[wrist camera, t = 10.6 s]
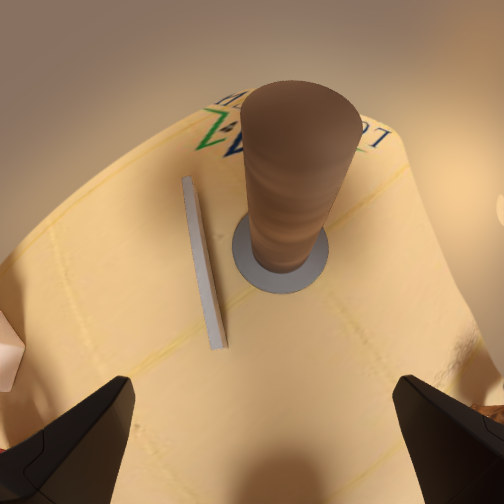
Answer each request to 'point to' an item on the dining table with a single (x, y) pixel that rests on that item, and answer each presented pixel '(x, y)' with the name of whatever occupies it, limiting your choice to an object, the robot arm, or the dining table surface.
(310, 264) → the resting pad
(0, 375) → the medicine bottle
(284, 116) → the pepper mill
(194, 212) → the low wall
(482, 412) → the lion figurine
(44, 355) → the dining table surface
